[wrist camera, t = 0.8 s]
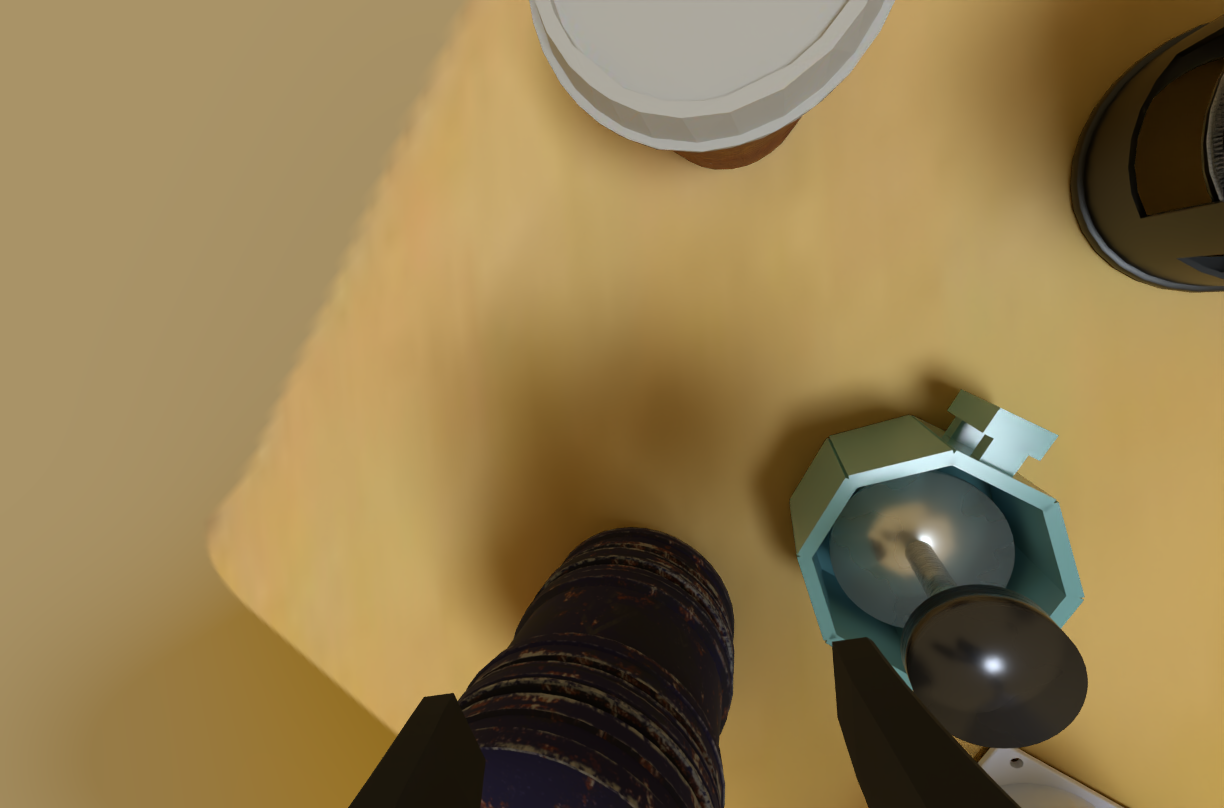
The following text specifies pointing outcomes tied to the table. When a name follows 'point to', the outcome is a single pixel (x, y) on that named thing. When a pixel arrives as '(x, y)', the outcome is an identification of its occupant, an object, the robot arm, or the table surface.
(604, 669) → the storage jar
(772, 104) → the disposable coffee cup
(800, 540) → the carafe
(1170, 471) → the table surface
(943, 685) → the plunger
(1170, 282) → the french press
